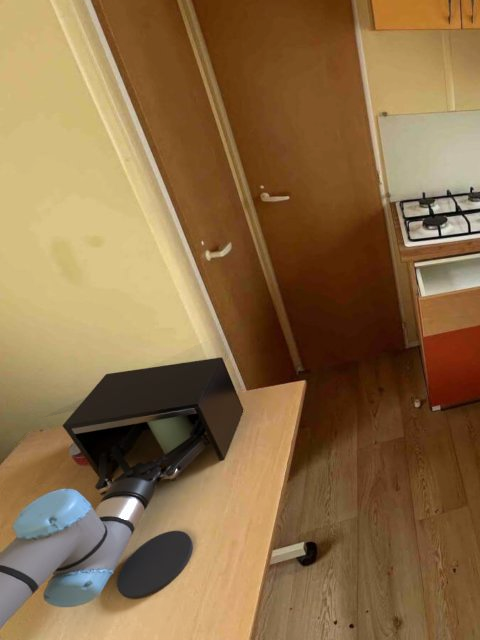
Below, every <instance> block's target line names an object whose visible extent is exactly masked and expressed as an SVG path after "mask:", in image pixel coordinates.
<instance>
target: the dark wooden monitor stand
mask: <svg viewBox="0 0 480 640" xmlns="http://www.w3.org/2000/svg"><path fill="white" fill-rule="evenodd" d="M243 410H244V407H243V405H242V402H241V399H240V397H239V394H238V392H237V390H236V387H235V385H234V383H233V380H232V378H231V375H230V372H229V371H228V368H227V366H226V363H225V360H224V358H223V357H222V356H221V357H214V358H207V359H199V360H193V361H187V362H179V363H172V364H165V365H159V366H152V367H151V366H150V367H145V368H139V369H138V368H137V369H132V370H130V369H129V370H125V371H118V372H110V373H106V374H105V375H104V376H103V377H102V378H101V379H100V381H99V382H98V383H97V384H96V385H95V387H94V388H93V389H92V390H90V392H89V393H88V395H87V396H86V397H85V398H84V399H83V401H82V402H80V404H79V406H77V407H76V409H75V410H74V411H73V412H72V413H71V415H70V416H69V417H68V418H67V419H66V420H65V422H64V423H63V424H62V427H63V429H64V431H66V433H67V434H68V435H69V437H70V438H71V440H72V441H73V442H74V443H75V444H76V446H77V447H78V448H79V450H80V451H81V453H82V454H83V455H84V457H85V458H86V460H87V461H88V463H89V464H90V465H89V466H90V467H91V469H92V470H93V471H94V472H95V474H96V475H97V477H98V478H99V460H100V454H101V453H103V452H107V453H108V452H111V451H110V448H111V447H112V446H114V445H118V443H119V442H120V440H121V439H122V438H123V437H126V435H127V434H128V432H129V431H130V430H131V428H132V427H133V425H134V424H137V423H140V425H141V427H142V428H143V431H148V430H151V429H150V427H149V426H148V424H147V422H149V421H155V420H161V419H167V418H173V417H179V416H185V415H189V417H190V419H191V421H192V423H196V421H197V419H198V417H199V419H200V421H201V423H202V425H203V427H204V429H205V431H206V432H205V433H206V436H207V438H208V440H209V442H210V443H211V445H212V448H213V449H214V452H215V454H216V456H217V458H218V460H219V461H225V460H226V457H227V454H228V452H229V449H230V447H231V444H232V441H233V440H234V437H235V434H236V432H237V429H238V427H239V424H240V422H241V419H242V417H243V414H244V412H243ZM244 411H245V410H244ZM242 413H243V414H242ZM241 416H242V417H241ZM240 418H241V419H240ZM122 455H123V456H124V457H125V456H126V455H127V454H124V453H123V454H122ZM118 467H120V465H119V464H118V462H117V460H116V459H114V460H112V476H113V475H114V474H115V472H116V471H117V469H118Z"/></svg>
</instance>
